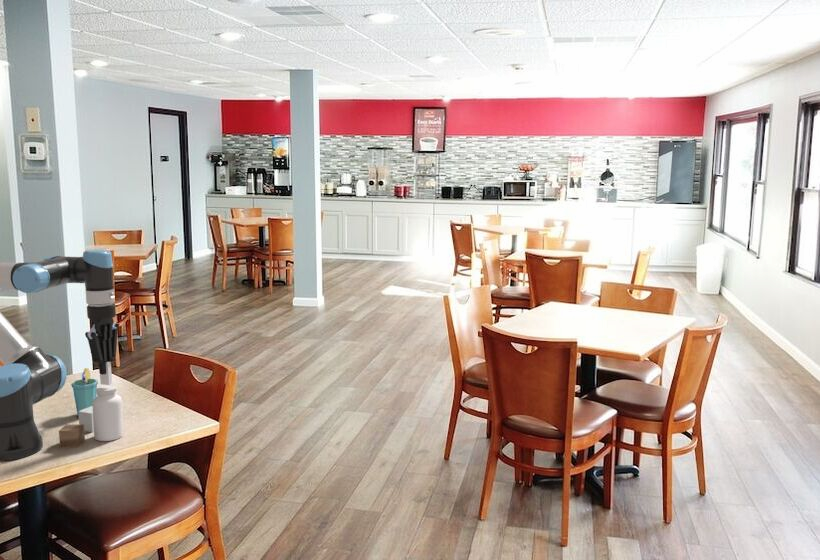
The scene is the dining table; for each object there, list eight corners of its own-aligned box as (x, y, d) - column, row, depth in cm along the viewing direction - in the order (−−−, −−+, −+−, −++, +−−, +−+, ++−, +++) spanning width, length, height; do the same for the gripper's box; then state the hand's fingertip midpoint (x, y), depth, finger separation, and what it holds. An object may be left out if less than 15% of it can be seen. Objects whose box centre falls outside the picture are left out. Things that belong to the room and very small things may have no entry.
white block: (92, 432, 218) (91, 413, 217) (79, 430, 220) (78, 411, 219) (105, 427, 223) (103, 408, 222) (92, 424, 225) (91, 406, 224)
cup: (100, 420, 228) (97, 374, 226) (73, 424, 225) (69, 376, 223) (99, 406, 241) (96, 362, 238) (73, 409, 238) (70, 365, 235)
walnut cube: (78, 447, 207) (77, 430, 206) (60, 447, 207) (58, 430, 206) (84, 440, 212) (83, 424, 211) (67, 441, 212) (65, 424, 211)
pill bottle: (117, 442, 211) (114, 392, 208) (89, 441, 211) (86, 391, 209) (128, 432, 219) (125, 383, 216) (101, 431, 219) (98, 383, 216)
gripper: (98, 309, 201) (104, 391, 205) (126, 300, 214) (130, 378, 218) (74, 307, 203) (80, 389, 207) (103, 299, 215) (108, 376, 219)
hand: (106, 383), depth 212 cm, fingers closed
